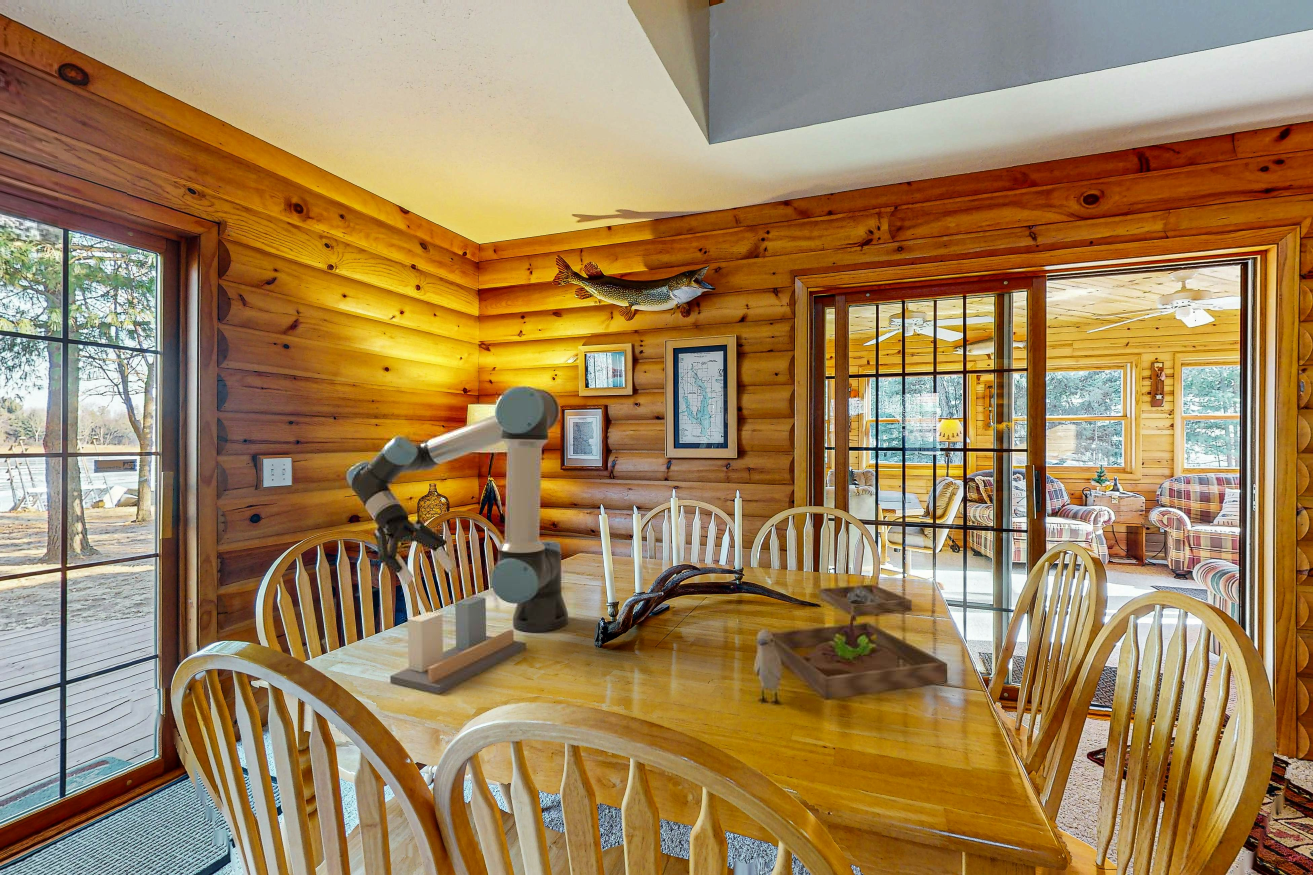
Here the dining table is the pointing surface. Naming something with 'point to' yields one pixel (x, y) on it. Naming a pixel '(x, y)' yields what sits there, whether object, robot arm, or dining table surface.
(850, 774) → the dining table surface
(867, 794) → the dining table surface
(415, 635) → the beige tall block
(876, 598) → the fossilized seashell
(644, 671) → the dining table surface
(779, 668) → the bird
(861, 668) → the plant
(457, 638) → the grey tall block
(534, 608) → the robot arm
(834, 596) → the frame
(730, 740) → the dining table surface
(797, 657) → the planter frame
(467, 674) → the grey stand base
